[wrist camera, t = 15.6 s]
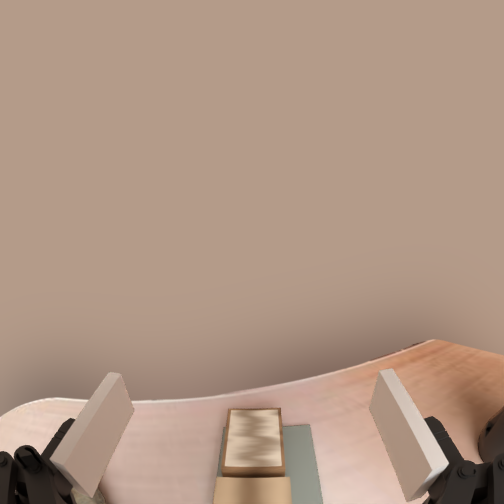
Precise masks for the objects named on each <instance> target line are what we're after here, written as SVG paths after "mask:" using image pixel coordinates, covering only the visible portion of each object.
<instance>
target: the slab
mask: <svg viewBox="0 0 504 504" xmlns="http://www.w3.org/2000/svg"><path fill="white" fill-rule="evenodd" d="M221 471H222V475H223V477H230V478H275V477H285V456H284V443H283V431H282V418H281V408H266V409H228V417H227V425H226V433H225V441H224V448H223V456H222V464H221Z"/></svg>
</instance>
